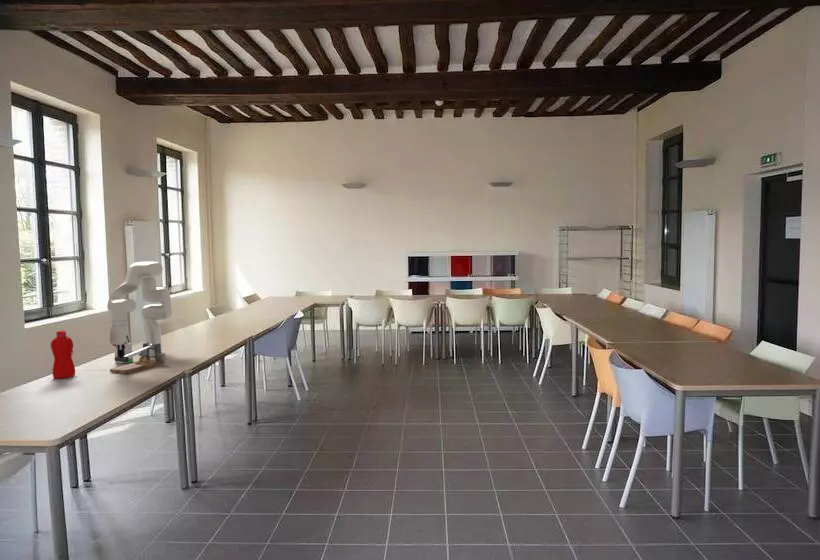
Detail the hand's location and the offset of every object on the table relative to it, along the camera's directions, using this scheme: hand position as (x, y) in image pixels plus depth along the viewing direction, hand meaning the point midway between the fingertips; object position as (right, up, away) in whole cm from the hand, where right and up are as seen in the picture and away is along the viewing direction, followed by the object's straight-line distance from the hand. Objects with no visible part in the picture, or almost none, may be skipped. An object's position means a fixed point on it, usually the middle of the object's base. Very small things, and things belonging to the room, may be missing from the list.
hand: (121, 356), depth 309 cm
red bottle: (-26, -10, -7) cm, 29 cm away
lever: (+4, -2, +11) cm, 12 cm away
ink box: (-11, -7, +25) cm, 28 cm away
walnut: (+5, -4, +15) cm, 16 cm away
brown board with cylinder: (+4, -8, +11) cm, 14 cm away
